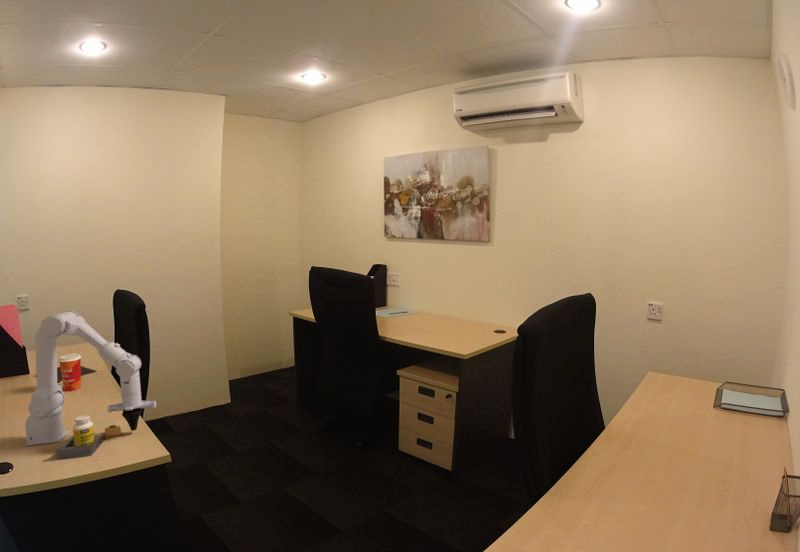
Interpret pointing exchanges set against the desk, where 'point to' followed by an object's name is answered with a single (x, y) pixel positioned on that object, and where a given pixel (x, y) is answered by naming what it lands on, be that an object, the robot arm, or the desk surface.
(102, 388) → the desk surface
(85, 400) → the desk surface
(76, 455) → the rail clip
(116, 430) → the block
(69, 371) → the coffee cup
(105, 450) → the desk surface
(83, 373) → the hardcover book
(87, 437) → the supplement bottle
